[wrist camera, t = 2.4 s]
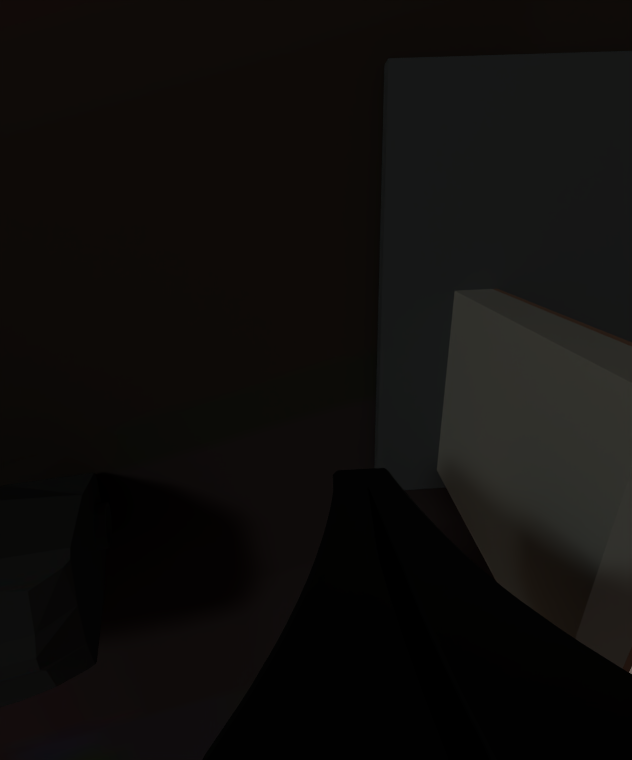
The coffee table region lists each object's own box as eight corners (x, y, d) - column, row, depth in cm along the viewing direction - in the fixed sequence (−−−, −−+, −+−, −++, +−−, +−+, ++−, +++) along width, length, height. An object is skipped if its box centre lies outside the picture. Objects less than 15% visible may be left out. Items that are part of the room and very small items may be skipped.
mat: (684, 464, 19) (696, 472, 19) (374, 483, 19) (376, 491, 18) (847, 50, 13) (873, 43, 12) (384, 64, 12) (388, 58, 12)
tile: (472, 468, 18) (621, 689, 10) (436, 470, 18) (556, 693, 10) (497, 288, 15) (751, 390, 7) (454, 290, 15) (656, 396, 6)
